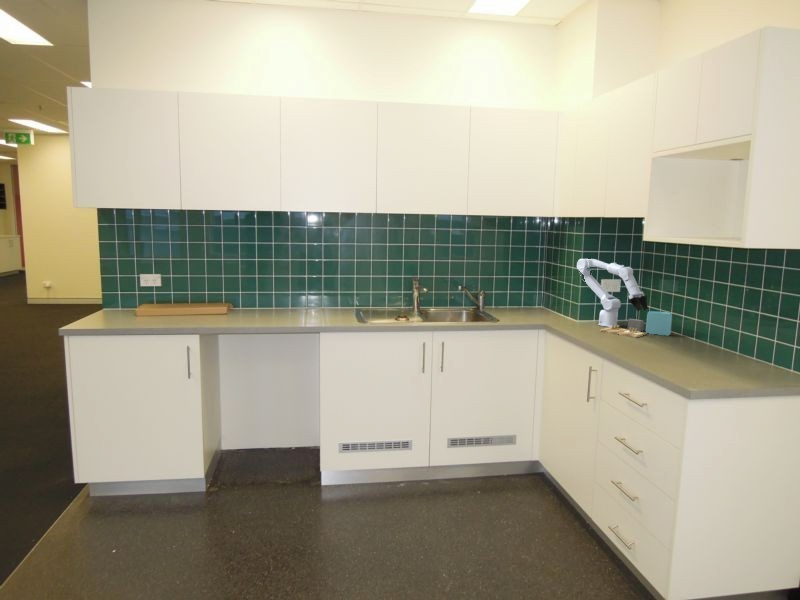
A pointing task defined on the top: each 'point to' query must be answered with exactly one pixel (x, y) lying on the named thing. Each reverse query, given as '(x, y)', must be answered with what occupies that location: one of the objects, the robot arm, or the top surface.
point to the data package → (659, 323)
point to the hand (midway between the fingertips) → (642, 309)
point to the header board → (623, 331)
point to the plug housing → (635, 324)
